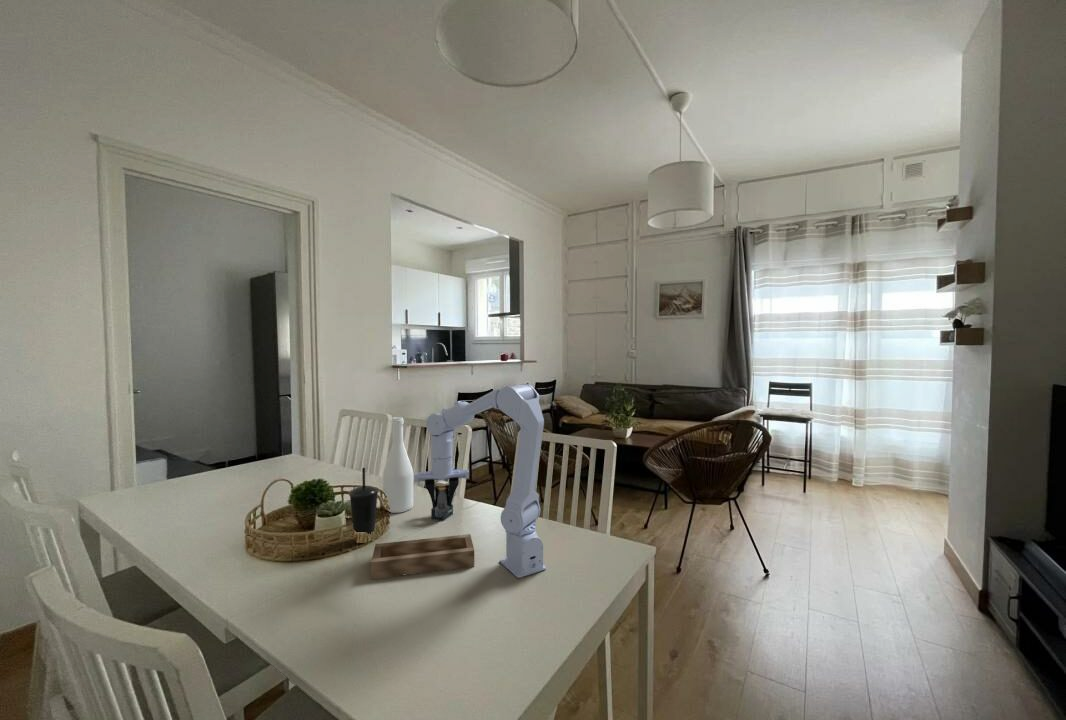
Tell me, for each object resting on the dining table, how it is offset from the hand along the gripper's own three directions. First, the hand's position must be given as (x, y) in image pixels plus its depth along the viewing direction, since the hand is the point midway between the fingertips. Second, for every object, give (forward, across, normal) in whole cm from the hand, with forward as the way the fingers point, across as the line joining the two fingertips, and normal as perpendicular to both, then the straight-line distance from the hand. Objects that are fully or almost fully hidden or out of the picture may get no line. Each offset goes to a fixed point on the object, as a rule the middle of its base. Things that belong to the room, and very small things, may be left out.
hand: (442, 505), depth 117 cm
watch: (+10, -1, -17) cm, 20 cm away
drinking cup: (+10, +21, -6) cm, 24 cm away
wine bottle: (+10, +13, -28) cm, 32 cm away
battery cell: (+2, 0, 0) cm, 2 cm away
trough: (+10, +5, +11) cm, 15 cm away
